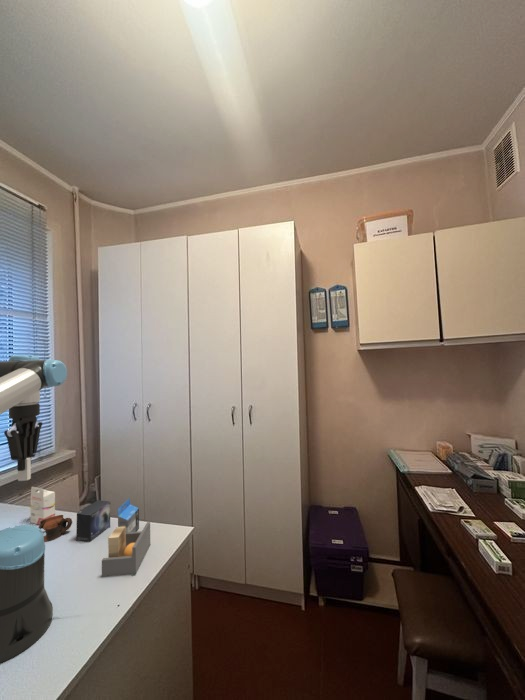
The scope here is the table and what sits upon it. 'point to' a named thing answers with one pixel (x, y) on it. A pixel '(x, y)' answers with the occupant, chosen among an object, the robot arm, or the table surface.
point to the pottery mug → (55, 527)
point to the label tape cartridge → (128, 517)
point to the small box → (93, 521)
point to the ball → (128, 550)
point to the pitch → (129, 563)
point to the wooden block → (117, 542)
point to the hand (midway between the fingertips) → (24, 479)
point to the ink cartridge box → (42, 505)
